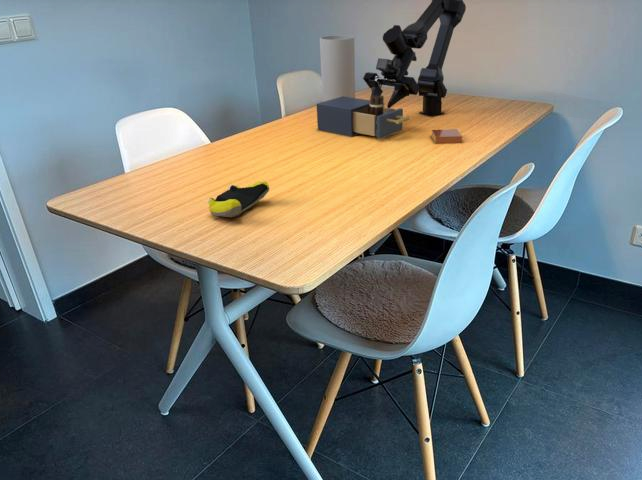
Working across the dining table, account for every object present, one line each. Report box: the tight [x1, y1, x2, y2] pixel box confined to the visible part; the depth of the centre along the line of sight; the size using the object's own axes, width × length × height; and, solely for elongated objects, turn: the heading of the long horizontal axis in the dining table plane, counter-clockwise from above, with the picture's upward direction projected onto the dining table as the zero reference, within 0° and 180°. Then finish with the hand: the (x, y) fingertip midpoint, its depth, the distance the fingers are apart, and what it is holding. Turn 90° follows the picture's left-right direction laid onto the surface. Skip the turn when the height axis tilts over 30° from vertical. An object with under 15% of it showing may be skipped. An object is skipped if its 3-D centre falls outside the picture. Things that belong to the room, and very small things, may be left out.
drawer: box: [352, 106, 410, 140], centre depth 176 cm, size 18×12×7 cm
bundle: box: [369, 94, 385, 130], centre depth 176 cm, size 5×5×10 cm
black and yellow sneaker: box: [206, 181, 270, 218], centre depth 125 cm, size 15×6×10 cm
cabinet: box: [316, 96, 370, 138], centre depth 184 cm, size 15×14×9 cm
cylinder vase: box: [319, 34, 356, 102], centre depth 206 cm, size 12×12×25 cm
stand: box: [431, 128, 463, 144], centre depth 172 cm, size 8×8×2 cm
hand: (379, 106), depth 176 cm, fingers open, 6 cm apart
